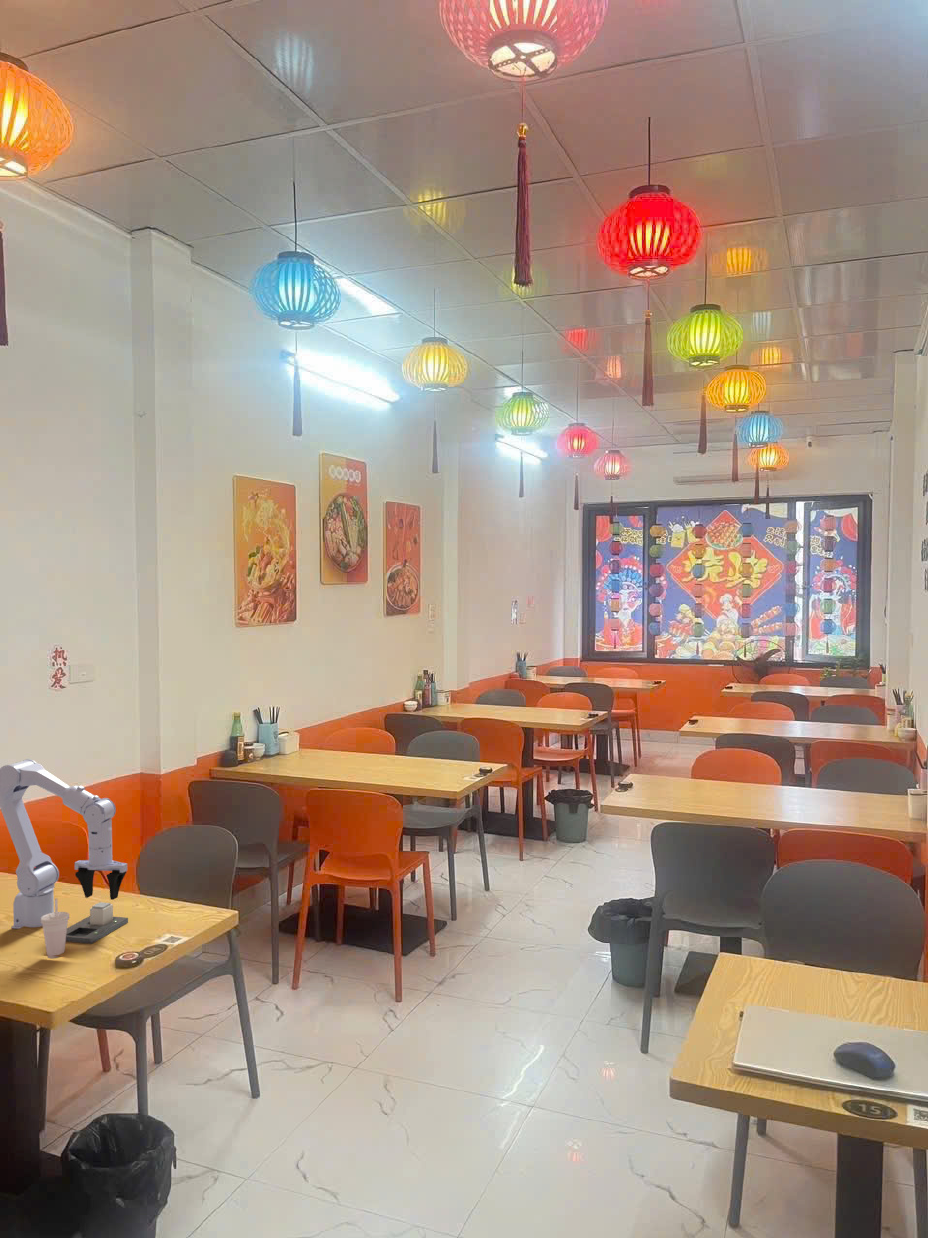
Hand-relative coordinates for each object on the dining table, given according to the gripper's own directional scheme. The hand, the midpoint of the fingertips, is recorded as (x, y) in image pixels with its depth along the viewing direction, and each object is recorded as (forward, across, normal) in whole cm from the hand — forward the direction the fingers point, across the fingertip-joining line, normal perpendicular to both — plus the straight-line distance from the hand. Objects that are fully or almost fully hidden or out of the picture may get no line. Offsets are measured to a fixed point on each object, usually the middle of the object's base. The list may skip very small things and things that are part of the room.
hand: (101, 897), depth 230 cm
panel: (+8, 0, -4) cm, 9 cm away
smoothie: (+8, 0, -18) cm, 20 cm away
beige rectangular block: (+7, 0, 0) cm, 7 cm away
